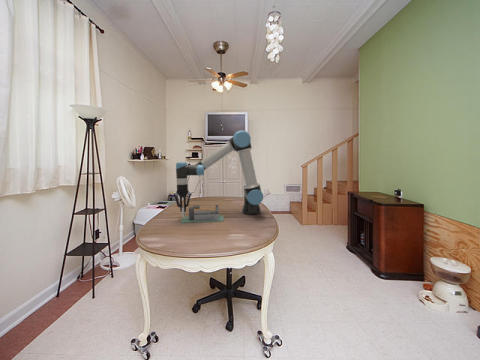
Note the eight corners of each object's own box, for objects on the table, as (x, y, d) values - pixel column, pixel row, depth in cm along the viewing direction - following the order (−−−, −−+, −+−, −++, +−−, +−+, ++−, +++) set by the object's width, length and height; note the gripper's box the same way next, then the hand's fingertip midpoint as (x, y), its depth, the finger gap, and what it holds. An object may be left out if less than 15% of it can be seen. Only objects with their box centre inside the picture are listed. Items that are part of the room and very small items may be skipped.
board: (223, 215, 161) (223, 215, 161) (223, 221, 148) (223, 220, 148) (183, 217, 158) (183, 216, 158) (180, 223, 145) (180, 222, 145)
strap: (217, 209, 155) (217, 208, 155) (217, 211, 151) (217, 209, 151) (195, 208, 154) (195, 207, 153) (194, 210, 150) (194, 208, 149)
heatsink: (218, 215, 159) (218, 204, 158) (218, 220, 148) (218, 208, 147) (196, 216, 158) (195, 204, 157) (194, 221, 147) (193, 208, 146)
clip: (200, 217, 156) (200, 205, 155) (199, 219, 150) (199, 207, 149) (190, 217, 155) (190, 205, 154) (189, 220, 149) (188, 207, 148)
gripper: (192, 183, 153) (193, 214, 156) (174, 183, 152) (175, 214, 155) (190, 184, 145) (191, 217, 148) (171, 184, 144) (173, 217, 147)
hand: (183, 216), depth 151 cm, fingers closed
